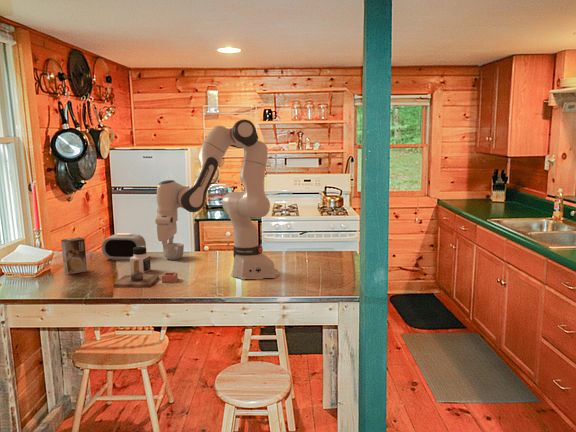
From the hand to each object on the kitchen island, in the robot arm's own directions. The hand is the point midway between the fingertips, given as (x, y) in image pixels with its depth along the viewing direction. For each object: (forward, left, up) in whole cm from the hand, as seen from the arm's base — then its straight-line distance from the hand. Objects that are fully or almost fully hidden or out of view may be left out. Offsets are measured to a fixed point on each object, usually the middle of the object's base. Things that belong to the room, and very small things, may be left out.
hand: (168, 247), depth 226 cm
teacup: (+7, -39, -16) cm, 43 cm away
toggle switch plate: (+14, +3, -15) cm, 21 cm away
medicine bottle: (+18, -16, -16) cm, 29 cm away
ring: (0, 0, -15) cm, 15 cm away
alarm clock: (+34, -40, -16) cm, 55 cm away
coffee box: (+49, -14, -16) cm, 53 cm away
